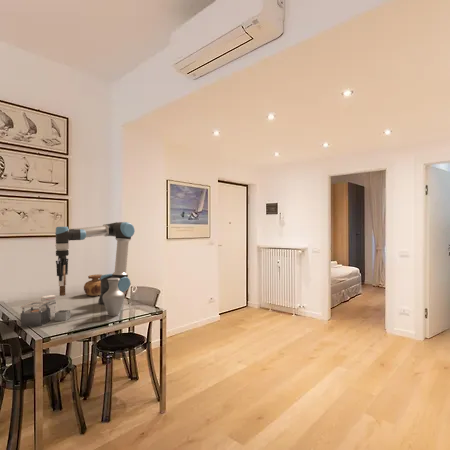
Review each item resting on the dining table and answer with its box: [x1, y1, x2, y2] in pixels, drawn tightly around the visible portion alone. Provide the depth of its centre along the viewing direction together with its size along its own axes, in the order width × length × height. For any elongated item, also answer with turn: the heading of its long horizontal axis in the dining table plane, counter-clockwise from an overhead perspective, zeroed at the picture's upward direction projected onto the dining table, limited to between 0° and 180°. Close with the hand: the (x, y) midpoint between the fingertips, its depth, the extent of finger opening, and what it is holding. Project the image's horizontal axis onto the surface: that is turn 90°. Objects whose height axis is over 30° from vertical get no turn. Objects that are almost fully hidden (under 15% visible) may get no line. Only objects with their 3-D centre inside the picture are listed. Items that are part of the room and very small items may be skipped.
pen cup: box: [54, 309, 71, 322], centre depth 208 cm, size 7×7×5 cm
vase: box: [102, 278, 125, 317], centre depth 217 cm, size 14×14×25 cm
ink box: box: [40, 294, 57, 314], centre depth 224 cm, size 9×5×12 cm, turn 148°
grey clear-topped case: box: [20, 300, 51, 328], centre depth 199 cm, size 12×12×12 cm
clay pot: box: [83, 273, 103, 297], centre depth 282 cm, size 19×19×20 cm
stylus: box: [59, 265, 66, 297], centre depth 208 cm, size 3×3×20 cm
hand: (62, 285), depth 208 cm, fingers closed on stylus, 3 cm apart
